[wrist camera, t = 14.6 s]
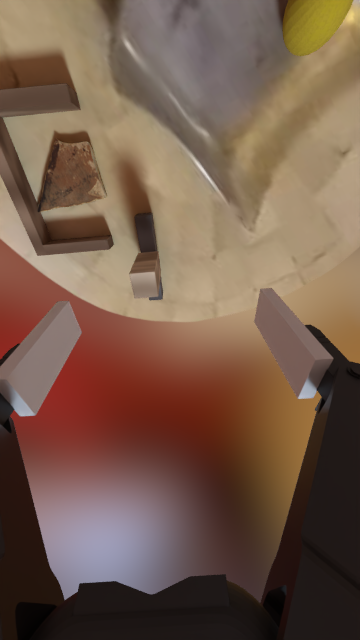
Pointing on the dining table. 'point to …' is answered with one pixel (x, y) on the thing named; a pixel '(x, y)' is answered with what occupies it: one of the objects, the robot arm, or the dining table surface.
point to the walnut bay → (7, 164)
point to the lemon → (312, 23)
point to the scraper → (146, 261)
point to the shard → (71, 177)
